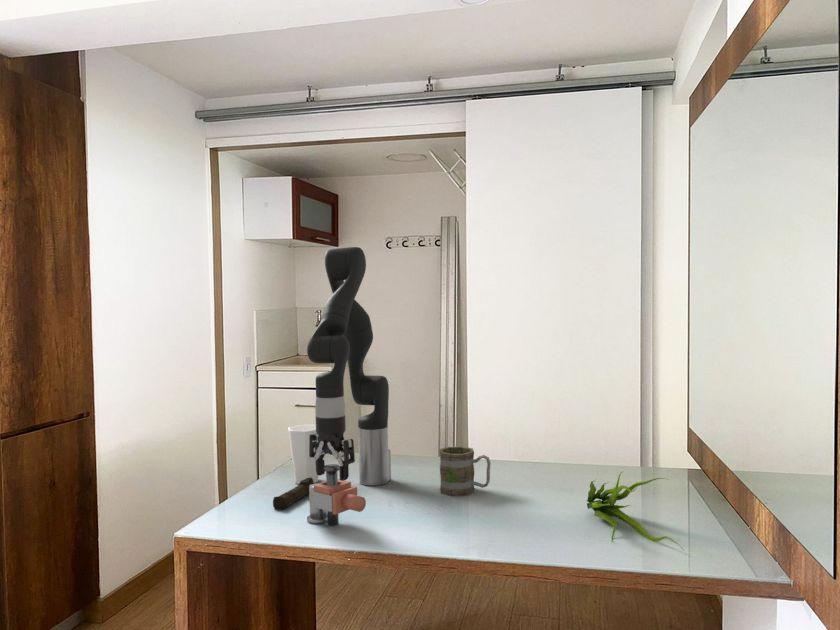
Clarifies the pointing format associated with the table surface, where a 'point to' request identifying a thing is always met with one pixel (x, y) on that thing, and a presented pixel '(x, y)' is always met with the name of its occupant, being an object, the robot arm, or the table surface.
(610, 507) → the decorative plant
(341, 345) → the robot arm
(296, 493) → the hand tool
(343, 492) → the bracket
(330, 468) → the steel pin
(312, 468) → the cup
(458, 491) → the mug
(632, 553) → the table surface
